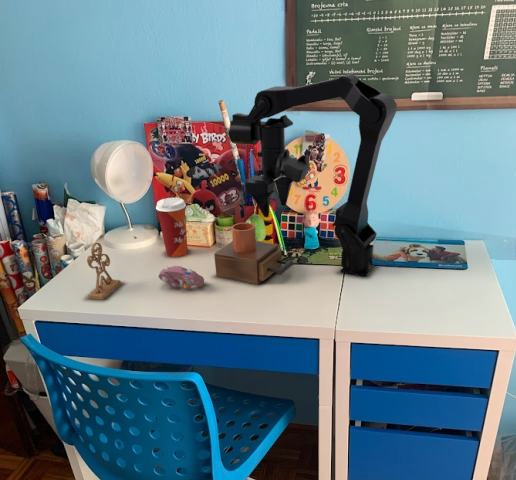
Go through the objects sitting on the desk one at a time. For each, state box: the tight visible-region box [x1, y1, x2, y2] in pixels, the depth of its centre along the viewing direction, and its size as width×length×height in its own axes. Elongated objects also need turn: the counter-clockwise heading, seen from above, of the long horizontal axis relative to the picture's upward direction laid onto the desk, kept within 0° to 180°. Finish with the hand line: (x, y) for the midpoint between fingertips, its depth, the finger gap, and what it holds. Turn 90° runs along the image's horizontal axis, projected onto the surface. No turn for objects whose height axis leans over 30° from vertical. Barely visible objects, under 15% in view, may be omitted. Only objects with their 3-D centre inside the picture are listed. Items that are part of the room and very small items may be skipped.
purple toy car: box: [158, 265, 205, 290], centre depth 137 cm, size 10×5×7 cm, turn 70°
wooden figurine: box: [86, 242, 122, 301], centre depth 136 cm, size 9×4×12 cm, turn 163°
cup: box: [231, 222, 257, 253], centre depth 140 cm, size 6×6×6 cm
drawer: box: [258, 248, 295, 282], centre depth 141 cm, size 15×9×4 cm, turn 61°
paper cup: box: [155, 197, 188, 258], centre depth 153 cm, size 8×8×14 cm
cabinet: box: [213, 240, 279, 285], centre depth 142 cm, size 12×11×6 cm
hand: (275, 211), depth 145 cm, fingers open, 9 cm apart
